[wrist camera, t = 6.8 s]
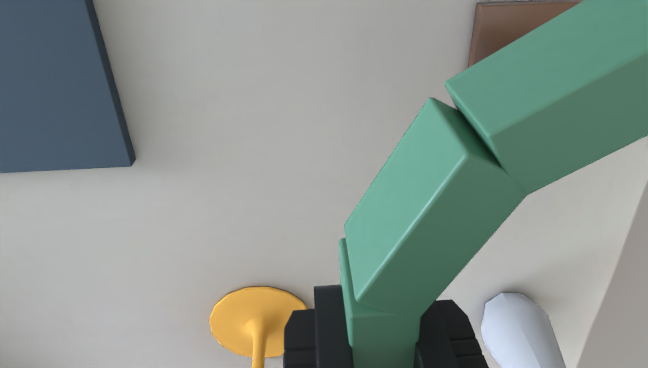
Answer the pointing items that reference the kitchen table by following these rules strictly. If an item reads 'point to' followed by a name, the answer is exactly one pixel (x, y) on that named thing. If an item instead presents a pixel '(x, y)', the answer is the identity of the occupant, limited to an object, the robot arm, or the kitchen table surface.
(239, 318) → the cup
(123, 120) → the mat
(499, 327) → the white game pawn
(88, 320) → the kitchen table surface
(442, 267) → the ring
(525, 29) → the ring toss
